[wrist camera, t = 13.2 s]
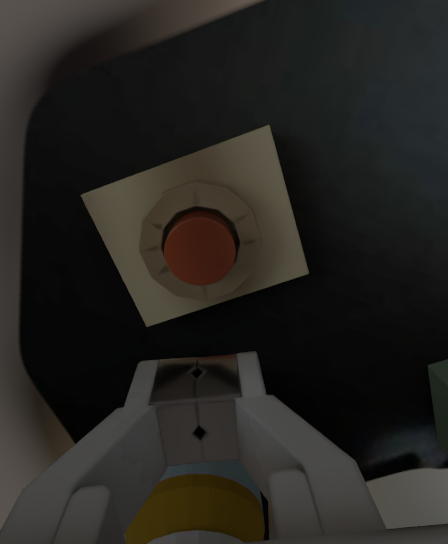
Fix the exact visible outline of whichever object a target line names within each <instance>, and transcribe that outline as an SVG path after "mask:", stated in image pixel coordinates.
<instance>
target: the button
mask: <svg viewBox="0 0 448 544" xmlns="http://www.w3.org/2000/svg"><path fill="white" fill-rule="evenodd" d="M164 256H165V260H166V263H167V266H168V267H169V269H170V271H171V272H172V273H173V274H174V275H175V276H176V277H177V278H178V279H180V280H181V281H183V282H185V283H188V284H191V285H197V286H205V285H210V284H213V283H216V282H218V281H219V280H221V279H222V278H224V277H225V276H226V275H227V274H228V273H229V271H230V270H231V268H232V266H233V264H234V261H235V257H236V247H235V243H234V239H233V235H232V232H231V230H230V228H229V226H228V225H227V223H226V222H225V221H224V220H223V219H222V218H220V217H219V216H217V215H215V214H213V213H210V212H205V211H196V212H191V213H188V214H186V215H184V216H182V217H181V218H179V219H178V220H177V221H176V222H175V223H174V225H173V226H172V228H171V230H170V232H169V234H168V237H167V239H166V242H165V246H164Z"/></svg>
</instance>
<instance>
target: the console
mask: <svg viewBox="0 0 448 544" xmlns="http://www.w3.org/2000/svg"><path fill="white" fill-rule="evenodd" d="M428 373H429V380H430V388H431V395H432V402H433V410H434V417H435V425H436V432H437V440H438V443H439V445H440V446H441V447H442V448H443V450H444V451H445V452H446V454H447V455H448V359H447V360H443V361H440V362H436V363H433V364H430V365H428Z"/></svg>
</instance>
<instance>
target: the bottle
mask: <svg viewBox="0 0 448 544" xmlns="http://www.w3.org/2000/svg"><path fill="white" fill-rule="evenodd" d="M264 532H265V526H264V519H263V508H262V501H261V495H260V489H259V488H258V486H257V485H256V484H255V482H254V481H253V479H252V478H251V477H250V475H249V474H248V473H247V471H246V470H245V468H244V467H243V466H242V464H241V463H240V460H235V461H218V462H202V463H194V464H185V465H177V466H168V467H167V470H166V472H165V473H164V475H163V476H162V478H161V479H160V481H159V482H158V484H157V485H156V487H155V488H154V490H153V491H152V493H151V494H150V496H149V497H148V499H147V500H146V502H145V503H144V505H143V506H142V508H141V509H140V511H139V512H138V514H137V515H136V517H135V518H134V520H133V521H132V523H131V524H130V526H129V527H128V529H127V530H126V542H127V544H234V543H245V542H256V541H263V538H264Z"/></svg>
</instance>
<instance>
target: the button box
mask: <svg viewBox="0 0 448 544" xmlns="http://www.w3.org/2000/svg"><path fill="white" fill-rule="evenodd" d="M81 197H82V199H83V201H84V203H85V205H86V207H87V209H88V211H89V213H90V215H91V217H92V219H93V221H94V223H95V225H96V227H97V229H98V231H99V233H100V235H101V237H102V239H103V241H104V243H105V245H106V247H107V249H108V251H109V253H110V255H111V257H112V259H113V261H114V263H115V265H116V267H117V269H118V271H119V273H120V275H121V277H122V279H123V281H124V282H125V284H126V286H127V288H128V290H129V292H130V294H131V296H132V298H133V300H134V302H135V304H136V306H137V308H138V310H139V312H140V314H141V316H142V318H143V320H144V322H145V324H146V326H147V327H148V326H151V325H154V324H157V323H160V322H163V321H166V320H170V319H173V318H176V317H179V316H182V315H185V314H188V313H191V312H194V311H197V310H200V309H203V308H206V307H209V306H212V305H215V304H218V303H221V302H224V301H227V300H230V299H233V298H236V297H239V296H242V295H245V294H248V293H251V292H255V291H258V290H261V289H264V288H267V287H270V286H273V285H276V284H279V283H282V282H285V281H288V280H291V279H294V278H297V277H300V276H303V275H306V274H309V271H308V268H307V264H306V260H305V256H304V253H303V249H302V245H301V241H300V238H299V234H298V230H297V226H296V223H295V219H294V215H293V211H292V208H291V204H290V200H289V196H288V193H287V189H286V185H285V181H284V178H283V174H282V170H281V166H280V163H279V159H278V155H277V152H276V148H275V144H274V140H273V137H272V133H271V129H270V126H269V125H267V126H264V127H261V128H259V129H256V130H253V131H251V132H248V133H245V134H243V135H240V136H237V137H234V138H232V139H229V140H226V141H224V142H221V143H218V144H216V145H213V146H210V147H208V148H205V149H202V150H200V151H197V152H194V153H191V154H189V155H186V156H183V157H181V158H178V159H175V160H173V161H170V162H167V163H165V164H162V165H159V166H157V167H154V168H151V169H148V170H146V171H143V172H140V173H138V174H135V175H132V176H130V177H127V178H124V179H122V180H119V181H116V182H114V183H111V184H108V185H105V186H103V187H100V188H97V189H95V190H92V191H90V192H87V193H85V194H82V195H81ZM196 211H205V212H210V213H213V214H215V215H217V216H219V217H220V218H222V219H223V220H224V221H225V222H226V223H227V225H228V226H229V228H230V230H231V232H232V235H233V239H234V243H235V247H236V257H235V261H234V264H233V266H232V268H231V270H230V271H229V273H228V274H227V275H226V276H225V277H224V278H222V279H221V280H219V281H218V282H216V283H213V284H210V285H205V286H197V285H191V284H188V283H185V282H183V281H181V280H180V279H178V278H177V277H176V276H175V275H174V274H173V273H172V272H171V271H170V269H169V267H168V266H167V263H166V260H165V256H164V246H165V242H166V239H167V237H168V234H169V232H170V230H171V228H172V226H173V225H174V223H175V222H176V221H177V220H178V219H179V218H181V217H182V216H184V215H186V214H188V213H191V212H196Z"/></svg>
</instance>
